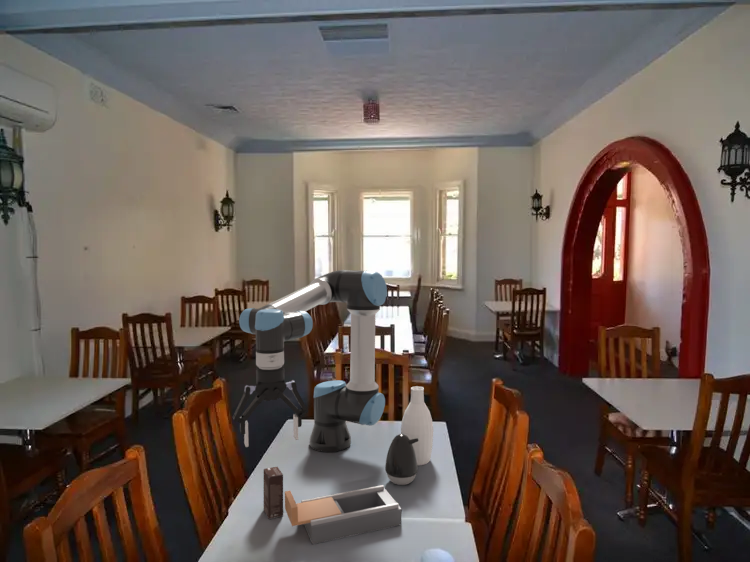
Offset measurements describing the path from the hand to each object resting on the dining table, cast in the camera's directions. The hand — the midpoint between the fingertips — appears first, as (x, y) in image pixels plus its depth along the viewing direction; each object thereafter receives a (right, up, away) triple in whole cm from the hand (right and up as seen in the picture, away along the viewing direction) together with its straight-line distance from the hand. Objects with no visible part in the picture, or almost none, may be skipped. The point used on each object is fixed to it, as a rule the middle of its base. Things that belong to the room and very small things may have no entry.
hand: (271, 441), depth 145 cm
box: (0, -21, +2) cm, 21 cm away
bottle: (+43, -17, +35) cm, 58 cm away
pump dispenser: (+37, -19, +20) cm, 46 cm away
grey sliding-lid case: (+22, -21, -2) cm, 31 cm away
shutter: (+12, -17, -6) cm, 22 cm away
